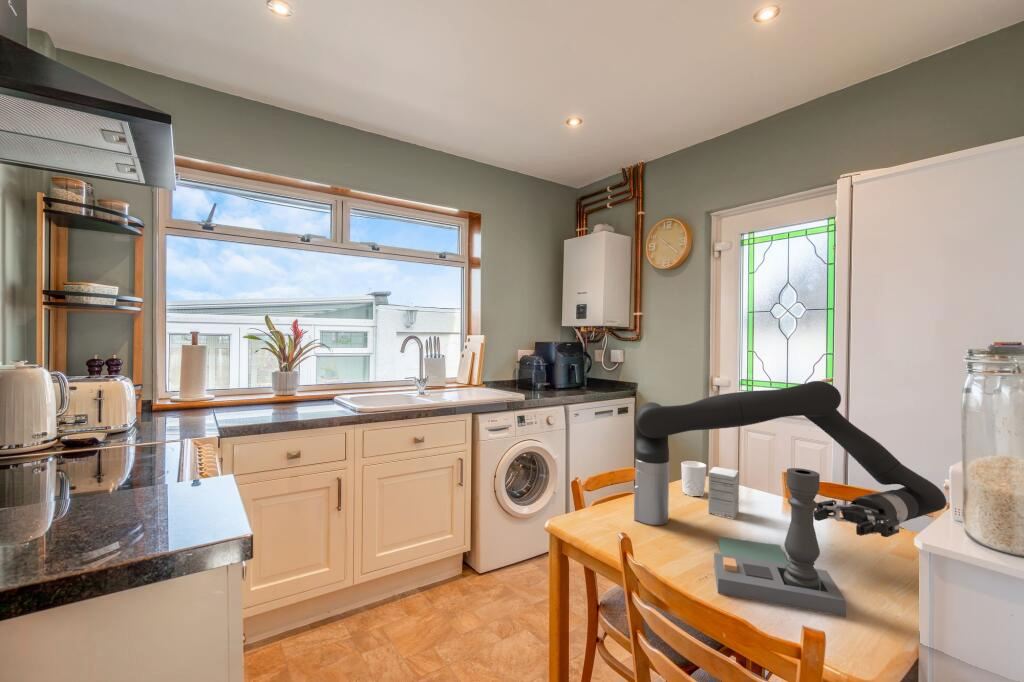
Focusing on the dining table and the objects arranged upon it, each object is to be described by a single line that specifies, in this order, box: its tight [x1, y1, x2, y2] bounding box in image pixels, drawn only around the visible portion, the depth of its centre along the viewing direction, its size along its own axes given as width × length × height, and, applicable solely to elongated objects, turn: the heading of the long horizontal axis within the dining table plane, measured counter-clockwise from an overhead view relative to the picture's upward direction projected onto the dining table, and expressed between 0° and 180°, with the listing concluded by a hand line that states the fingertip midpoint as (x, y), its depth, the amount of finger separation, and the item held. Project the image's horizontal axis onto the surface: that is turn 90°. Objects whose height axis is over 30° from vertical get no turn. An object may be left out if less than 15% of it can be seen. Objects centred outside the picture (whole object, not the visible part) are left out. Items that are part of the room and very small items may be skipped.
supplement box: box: [707, 466, 740, 519], centre depth 137 cm, size 7×7×13 cm
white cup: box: [680, 460, 707, 497], centre depth 154 cm, size 8×8×10 cm
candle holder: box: [783, 467, 821, 591], centre depth 94 cm, size 6×6×25 cm
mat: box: [717, 536, 789, 564], centre depth 110 cm, size 14×12×1 cm
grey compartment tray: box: [713, 552, 847, 618], centre depth 95 cm, size 22×12×4 cm, turn 70°
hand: (836, 522), depth 98 cm, fingers open, 8 cm apart
